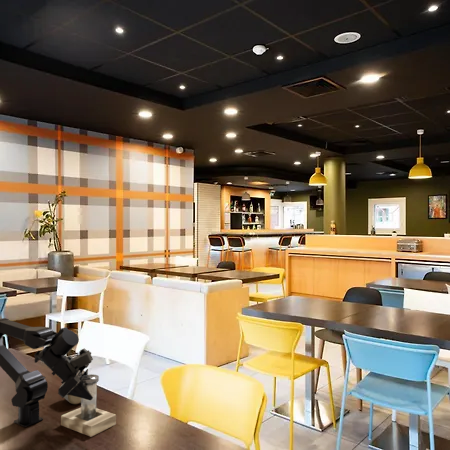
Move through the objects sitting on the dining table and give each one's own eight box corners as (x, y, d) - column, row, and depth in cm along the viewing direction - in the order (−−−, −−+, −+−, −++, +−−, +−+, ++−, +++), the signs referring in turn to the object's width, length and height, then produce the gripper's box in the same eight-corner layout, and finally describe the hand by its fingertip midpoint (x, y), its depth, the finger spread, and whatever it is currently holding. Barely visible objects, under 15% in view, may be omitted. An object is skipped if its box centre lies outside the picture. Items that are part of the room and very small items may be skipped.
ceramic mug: (67, 407, 146) (68, 385, 147) (59, 400, 153) (60, 379, 153) (96, 400, 153) (97, 379, 154) (87, 393, 160) (88, 373, 160)
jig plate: (61, 425, 133) (61, 415, 133) (86, 413, 141) (86, 404, 141) (90, 436, 126) (91, 426, 126) (116, 424, 134) (116, 414, 134)
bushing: (74, 419, 133) (75, 378, 133) (89, 413, 137) (90, 373, 138) (87, 424, 130) (88, 381, 130) (101, 417, 134) (102, 376, 135)
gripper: (70, 351, 124) (108, 387, 126) (82, 336, 143) (115, 368, 144) (41, 379, 123) (80, 415, 124) (58, 360, 142) (91, 392, 143)
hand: (93, 395), depth 134 cm, fingers open, 5 cm apart
